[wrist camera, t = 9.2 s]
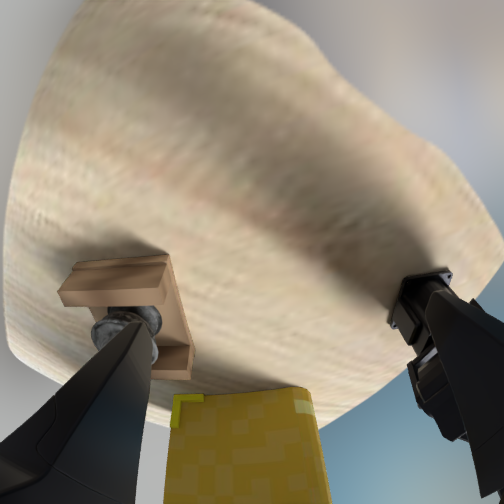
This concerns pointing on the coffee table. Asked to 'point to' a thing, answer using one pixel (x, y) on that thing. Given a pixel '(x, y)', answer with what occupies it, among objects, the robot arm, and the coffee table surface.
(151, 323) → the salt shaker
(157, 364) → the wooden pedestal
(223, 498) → the book
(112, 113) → the coffee table surface
